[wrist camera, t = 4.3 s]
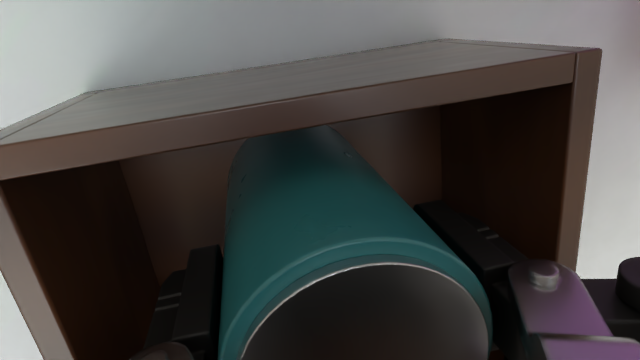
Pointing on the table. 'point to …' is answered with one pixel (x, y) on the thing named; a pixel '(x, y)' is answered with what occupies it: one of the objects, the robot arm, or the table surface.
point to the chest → (270, 118)
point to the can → (337, 263)
